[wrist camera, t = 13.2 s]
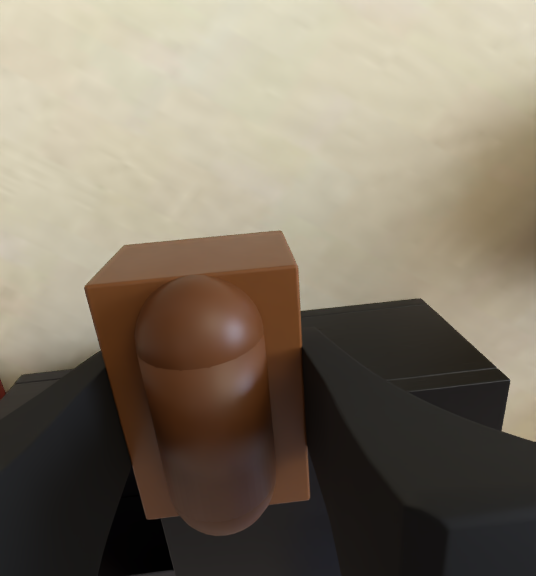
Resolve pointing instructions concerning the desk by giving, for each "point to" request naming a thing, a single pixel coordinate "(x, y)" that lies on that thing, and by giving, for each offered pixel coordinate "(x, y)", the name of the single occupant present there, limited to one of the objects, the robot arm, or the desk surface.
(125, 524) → the drawer
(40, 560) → the robot arm
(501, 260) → the desk surface
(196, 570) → the black rectangular box
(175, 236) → the desk surface
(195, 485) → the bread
